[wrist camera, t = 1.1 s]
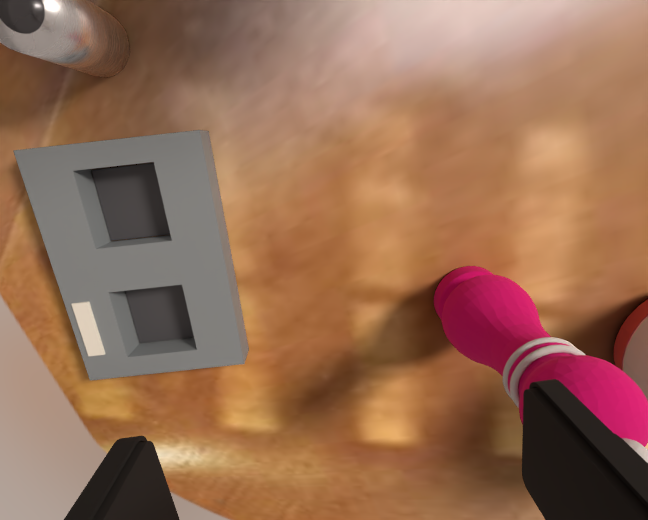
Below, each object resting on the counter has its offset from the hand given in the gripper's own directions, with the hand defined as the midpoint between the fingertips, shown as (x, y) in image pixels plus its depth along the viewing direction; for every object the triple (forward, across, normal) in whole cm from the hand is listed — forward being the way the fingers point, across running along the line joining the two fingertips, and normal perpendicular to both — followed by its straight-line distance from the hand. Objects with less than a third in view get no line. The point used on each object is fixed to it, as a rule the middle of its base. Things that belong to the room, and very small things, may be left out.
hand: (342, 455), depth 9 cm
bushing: (+25, +15, -17) cm, 33 cm away
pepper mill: (+25, -12, +8) cm, 29 cm away
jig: (+25, +15, 0) cm, 29 cm away
